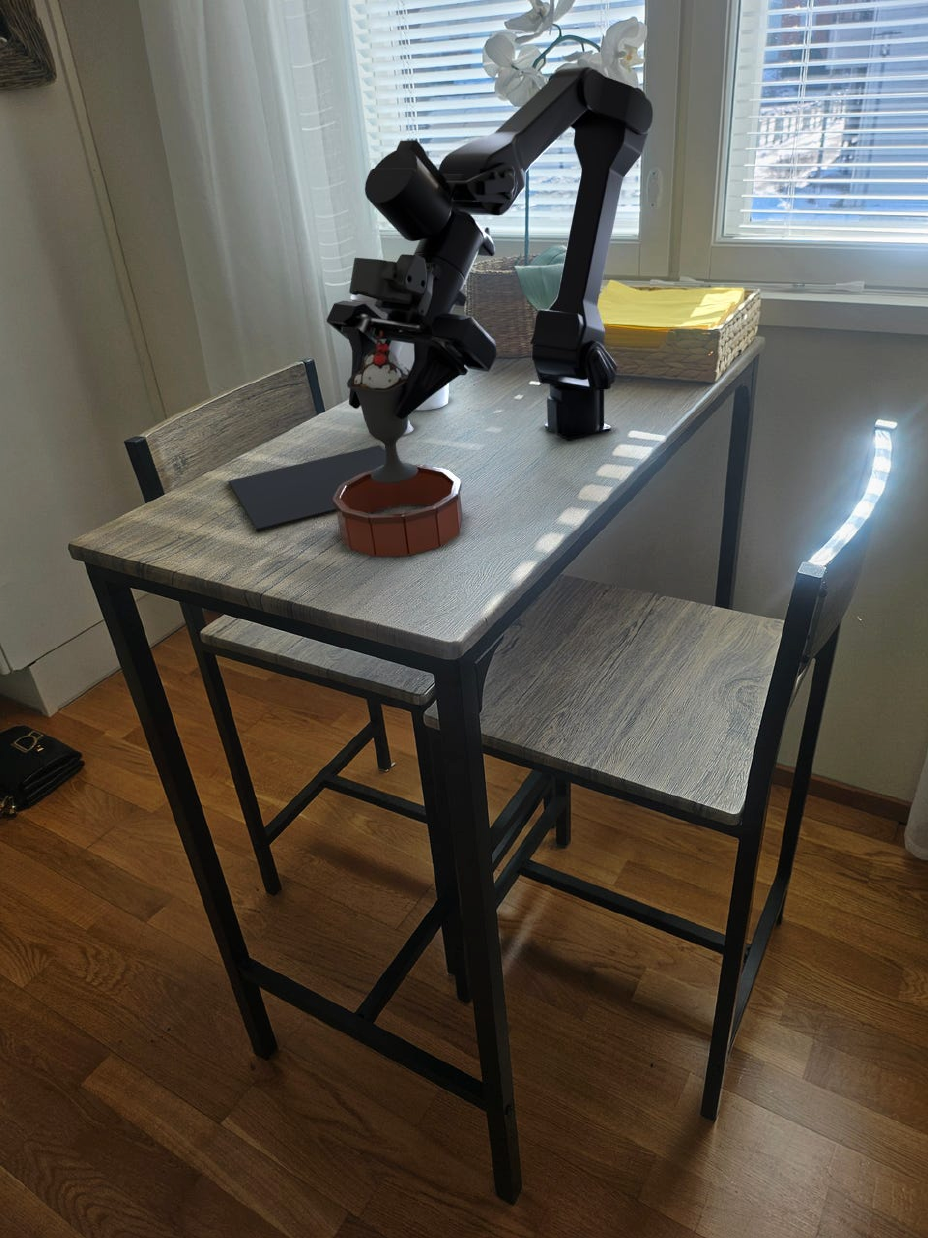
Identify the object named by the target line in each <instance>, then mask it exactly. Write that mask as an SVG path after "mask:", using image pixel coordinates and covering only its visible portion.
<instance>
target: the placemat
mask: <svg viewBox="0 0 928 1238" xmlns="http://www.w3.org/2000/svg"><path fill="white" fill-rule="evenodd" d="M385 462H386V452H385V448H383V447H382V446H381V445H380V444H379V445H375V446H370V447H366V448H361V449H357V450H353V451H348V452H344V453H340V454H336V455H332V456H327V457H323V458H319V459H315V460H312V461H307V462H303V463H298V464H294V465H290V466H285V467H282V468H277V469H272V470H268V471H264V472H260V473H256V474H251V475H247V476H243V477H238V478H233V479H231V480H228V485H229V486H230V488H231V490H232V492H233V494H234V495H235V497H236V498H237V500H238V501H239V504H240V505H241V507H242V509H243V510H244V512H245V513H246V515H247V517H248V518H249V520H250V522H251V524H252V525H253V527H254V529H255V531H256V532H257V533H260V532H263V531H267V530H270V529H271V530H272V529H275V528H279V527H282V526H286V525H290V524H294V523H299V522H303V521H306V520H310V519H314V518H318V517H321V516H326V515H329V514H334V513H337V511H336V508H335V506H334V505H333V497H334V495H335V493H336V491H337V489H338V488H339V486H340V485H341V484H343V483H345V482H346V481H348V480H350V479H352V478H354V477H355V476H357V475H359V474H362V473H365V472H369V471H373V470H375V469H376V468H378V467H380V466H382V465H384V464H385Z"/></svg>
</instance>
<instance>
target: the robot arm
mask: <svg viewBox="0 0 928 1238" xmlns="http://www.w3.org/2000/svg"><path fill="white" fill-rule="evenodd" d="M653 109H654V108H653V105H652V102H651V101H650V99H649V98H648V97H647V96H646V92H645V91H643V89H642V88H640V87H634V86H632V85H630V84H628V83H624V82H622V81H618V80H616V79H614V78H611V77H608V76H606V75H604V74H602V73H601V72H600V71H599V70H598V69H595V68H592V67H590V66H580V67H568V68H559V69H558V70H556V71H555V72H553V73H551V74H550V76H549V77H548V80H547V82H546V83H545V84H544V85H543V87H541V88H540V89H539V90H538V91H537V92H536V93H534V95H532V97H530V98H529V99H528V100H527V101H526V102H525V103H524V104H523V105H522V106H521V107H520V108H519V109H518V110H517V111H516V112H515V113H513V115H511V116H510V117H509V118H508V119H507V120H506V121H505V122H504V123H503V124H501V126H499V128H497V129H496V130H495V131H494V132H492V133H491V134H489V135H487V136H485V137H481V138H479V139H476V140H474V141H470V142H467V143H465V144H463V145H462V146H460V147H458V148H457V149H454V150H453V151H451V152H449V153H448V154H446V156H444V158H443V160H441V161H440V164H439V167H438V168H437V166H436V165H435V164H434V163H433V161H432V160H431V159H430V157H429V156H428V154H427V153H426V149H424V147H423V146H422V144H421V143H420V142H419V140H417V139H407V140H405V139H404V140H403V139H402V140H400V141H399V143H398V145H397V146H396V149H395V150H393V151H392V152H390V153H388V154H387V155H386V156H385V157H383V158H382V159H380V161H378V163H377V164H376V166H375V167H374V168H371V169H370V171H369V172H368V175H367V177H366V181H365V185H364V194H365V196H366V199H367V200H368V201H369V202H370V203H371V204H372V206H374V208H375V209H376V210H377V211H378V212H379V213H380V214H381V215H382V216H383V217H384V218H385V219H386V220H387V222H389V224H391V226H392V227H393V228H394V229H395V230H396V231H397V232H398V233H399V234H400V235H401V237H403V238H404V239H405V240H406V241H410V242H418V241H419V242H418V244H417V245H416V248H415V250H414V252H413V254H405V253H402V254H400V255H399V257H398V259H397V260H396V261H392V260H385V259H376V258H364V257H354V259H353V264H352V271H351V277H350V284H349V290H348V293H349V294H351V295H353V294H354V295H358V294H361V295H364V296H367V297H371V298H374V299H377V301H376V303H375V306H376V307H377V308H378V309H379V310H380V311H382V312H385V313H386V314H388V316H387V319H382V318H381V317H380V316H379V315H378V314H377V313H375V312H374V311H373V310H372V309H371V308H370V307H369V306H368V305H367V304H366V303H359V302H353V301H352V300H351V301H350V300H341V301H340V300H339V301H337V302H334V303H333V305H332V307H331V309H330V311H329V314H328V316H327V318H326V323H327V324H329V325H330V326H331V327H332V328H333V329H334V330H335V331H337V332H338V333H339V334H340V335H341V336H343V337H344V338H345V339H347V340H348V343H349V345H350V349H351V374H350V377H351V376H353V375H354V374H356V373H358V372H359V371H360V370H361V369H362V367H363V365H364V361H365V358H366V356H367V355H368V353H369V352H370V351H372V350H373V349H376V344H377V340H378V337H379V334H380V331H383V336H382V337H381V338H380V342H381V343H384V344H387V346H388V347H389V346H390V343H391V341H399V342H405V343H411V344H414V363H413V365H412V368H411V370H410V373H409V375H408V378H407V380H406V383H405V385H404V388H403V390H402V393H401V395H400V398H399V400H398V404H397V407H396V410H395V415H396V416H397V417H398V418H399V419H405V418H406V417H407V416H408V417H409V416H410V415H411V414H412V413H413V412H414V411H416V410H415V409H417V408H418V407H419V406H420V405H421V404H422V403H424V402H425V401H426V400H427V399H428V398H430V397H431V396H432V395H433V394H435V393H436V392H437V391H439V390H440V389H441V388H443V387H444V386H445V385H447V384H448V383H449V384H450V383H451V382H453V381H454V380H455V379H457V378H458V377H460V376H466V375H467V374H468V373H469V370H468V369H470V370H473V371H474V370H475V371H480V372H486V373H488V372H490V370H491V368H492V367H493V364H494V362H495V359H496V357H497V355H498V354H497V353H498V352H497V343H496V341H495V339H493V337H492V336H491V335H490V334H489V333H488V332H487V331H486V330H485V328H483V327H482V326H481V325H480V324H479V323H478V322H477V321H476V320H475V319H474V317H472V316H470V315H465V314H464V315H463V314H455V313H453V310H454V308H455V306H457V307H465V305H466V303H467V301H468V299H469V298H468V296H467V295H466V294H465V292H463V291H462V290H463V287H464V286H465V283H466V282H467V279H468V277H469V274H470V272H471V269H472V267H473V265H474V263H475V260H476V258H477V256H482V257H494V256H495V253H496V248H495V243H494V242H493V239H492V237H491V229H490V227H489V226H481V225H480V224H479V223H478V222H477V221H476V220H475V218H474V217H473V216H495V217H496V216H497V217H500V216H503V215H504V214H506V213H507V212H509V211H510V209H511V208H512V206H513V205H514V204H515V202H516V201H517V199H518V198H519V196H520V195H521V193H522V192H523V191H524V189H525V187H526V181H527V180H526V179H527V172H528V171H529V169H530V167H532V165H533V164H534V163H535V162H536V161H537V160H538V159H540V157H542V155H543V154H544V153H546V152H547V150H548V149H549V148H550V147H551V146H553V145H554V143H556V141H557V140H558V139H560V137H561V136H562V135H564V134H565V132H566V131H568V130H569V129H570V130H571V131H573V133H574V134H573V141H572V143H573V144H572V145H573V147H574V148H573V149H574V151H575V154H576V157H577V160H578V163H579V166H580V176H579V182H578V187H577V191H576V197H575V202H574V207H573V213H572V217H571V218H572V219H571V223H570V228H569V234H568V238H567V239H568V240H567V245H566V249H565V254H564V260H563V266H562V271H561V276H560V281H559V284H558V285H559V286H558V291H557V296H556V299H555V300H554V301H553V302H552V304H551V305H550V306H549V307H548V309H539V310H538V312H537V313H536V315H535V324H534V331H533V334H532V337H531V339H530V342H529V344H530V345H531V360H532V362H533V366H534V369H535V371H536V375H537V379H538V382H539V384H541V385H549V396H548V397H547V399H546V412H547V414H546V415H547V417H546V418H547V423H544V428H545V429H546V430H547V431H550V432H551V433H553V434H555V435H556V436H558V437H559V438H562V439H563V440H565V441H567V442H572V441H576V440H580V439H584V438H588V437H592V436H596V435H600V434H604V433H607V432H610V431H611V430H612V426H610V425H608V424H607V423H605V390H609V389H611V388H612V384H614V383H615V382H616V378H617V377H616V376H617V371H618V365H617V363H616V362H615V360H614V358H612V356H611V355H610V354H609V353H608V351H607V349H606V348H605V347H604V343H605V334H606V330H605V326H604V323H603V319H602V317H601V313H600V311H599V306H598V304H599V298H600V295H601V290H602V284H603V280H604V274H605V271H606V270H605V269H606V265H607V259H608V254H609V251H610V250H609V249H610V244H611V240H612V235H613V229H614V225H615V220H616V214H617V209H618V207H619V200H620V195H621V190H622V185H623V181H624V179H625V176H627V174H628V173H629V172H630V171H631V170H632V168H633V166H634V165H635V164H636V162H637V161H638V160H639V159H640V157H641V156H642V154H643V153H644V149H645V145H646V142H647V138H648V135H649V133H650V132H649V131H650V129H651V126H652V124H653V119H654V110H653ZM400 331H401V332H400ZM379 344H380V343H379V341H378V345H379ZM348 396H349V397H348V404H349V406H350V407H352V408H353V409H355V410H358V409H359V408H361V405H360V401H359V399H358V396H357V394H356V392H355V391H354V390H353V389H350V388H349V395H348Z"/></svg>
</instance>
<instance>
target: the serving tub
mask: <svg viewBox="0 0 928 1238" xmlns="http://www.w3.org/2000/svg"><path fill="white" fill-rule="evenodd" d="M413 465H414V466H416V467H417V469H418V472H417V474H416V475H415V476H414V477H412V478H411V479H408V480H405V481H402V482H397V483H380V482H377V481H375V480H373V479H372V478H371V473H372V471H369V472H365V473H362V474H359V475H357V476H355V477H354V478H352V479H350V480H348V481H346V482H345V483H343V484H341V485H340V486H339V488H338V489H337V491H336V493H335V495H334V497H333V505H334V506H335V508H336V511H337V512H336V516H337V521H338V527H339V528H338V529H339V533H340V538H341V539H342V541H343V542H344V543H345V544H346V546H347V547H348V548H349V549H350V550H351V551H354V552H358V553H362V554H365V555H368V556H371V557H379V558H380V557H383V558H384V557H408V556H413V555H417V554H420V553H424V552H427V551H432V550H435V549H439V548H440V547H442V546H444V545H445V544H447V543H448V542H449V541H451V540H453V538H456V537H457V536H458V535H459V534H460V533H461V528H462V526H463V525H462V524H463V520H464V518H463V507H462V498H461V497H462V496H461V491H462V487H463V486H462V480H461V479H460V478H459V477H457V476H456V475H455V474H454V473H452V472H451V471H450V470H448V469H446V468H440V467H436V466H431V465H425V464H413ZM421 505H425V506H426V507H422V508H418V509H414V510H411V511H407V512H403V513H374V514H372V513H373V512H377V511H381V510H385V509H389V508H392V507H395V506H421Z"/></svg>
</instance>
